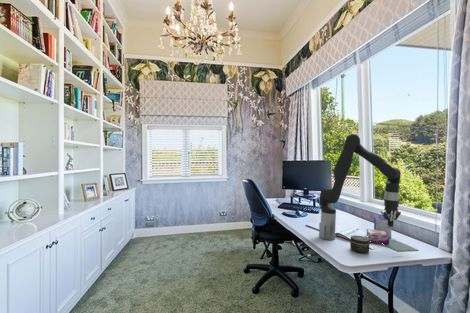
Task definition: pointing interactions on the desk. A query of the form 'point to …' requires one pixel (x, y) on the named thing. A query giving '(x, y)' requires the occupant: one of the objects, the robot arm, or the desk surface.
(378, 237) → the candy bar box
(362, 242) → the jar
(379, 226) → the ink cartridge box
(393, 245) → the mat
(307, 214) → the desk surface
